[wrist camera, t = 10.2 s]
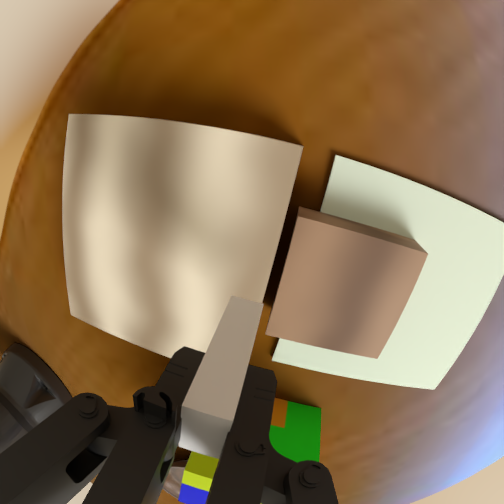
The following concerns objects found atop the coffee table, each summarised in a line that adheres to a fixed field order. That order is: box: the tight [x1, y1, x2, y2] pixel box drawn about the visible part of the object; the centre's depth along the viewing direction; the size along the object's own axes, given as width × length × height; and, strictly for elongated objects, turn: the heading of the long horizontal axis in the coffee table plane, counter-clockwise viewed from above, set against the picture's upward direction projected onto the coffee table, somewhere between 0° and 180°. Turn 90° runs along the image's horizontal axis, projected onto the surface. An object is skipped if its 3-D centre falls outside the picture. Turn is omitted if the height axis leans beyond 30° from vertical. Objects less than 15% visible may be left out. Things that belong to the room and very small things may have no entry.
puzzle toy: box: [178, 398, 321, 504], centre depth 22 cm, size 10×10×10 cm
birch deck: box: [62, 114, 303, 358], centre depth 19 cm, size 15×16×4 cm
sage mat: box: [272, 155, 504, 390], centre depth 19 cm, size 16×16×1 cm
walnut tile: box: [265, 206, 428, 359], centre depth 18 cm, size 8×8×2 cm
